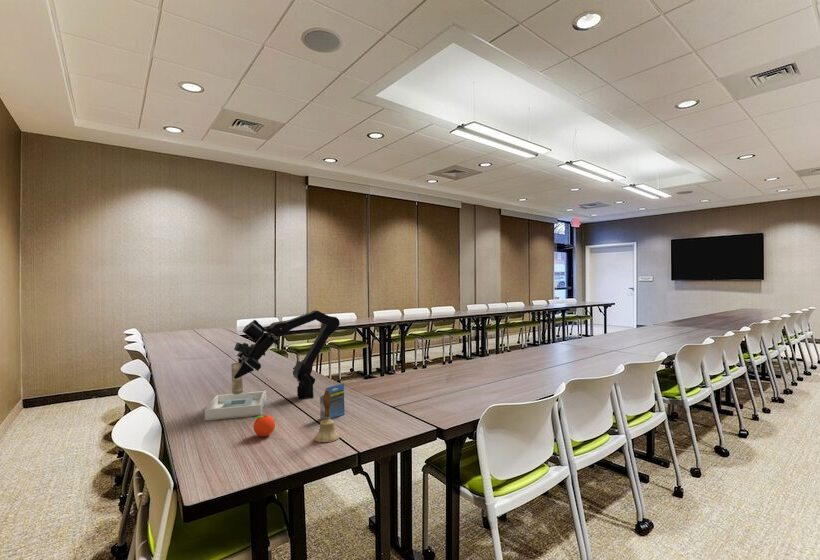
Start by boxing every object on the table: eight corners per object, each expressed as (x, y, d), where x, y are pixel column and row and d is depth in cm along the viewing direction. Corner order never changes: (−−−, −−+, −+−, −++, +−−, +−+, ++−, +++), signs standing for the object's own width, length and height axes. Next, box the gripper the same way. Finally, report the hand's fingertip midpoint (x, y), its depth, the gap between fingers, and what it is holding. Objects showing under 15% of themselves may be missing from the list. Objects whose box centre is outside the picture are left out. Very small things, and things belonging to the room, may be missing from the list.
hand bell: (329, 431, 137) (328, 385, 137) (345, 436, 132) (344, 389, 131) (309, 438, 130) (308, 390, 130) (325, 445, 125) (324, 395, 125)
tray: (266, 400, 173) (266, 391, 173) (261, 415, 154) (260, 405, 154) (216, 404, 168) (216, 395, 168) (204, 420, 149) (204, 410, 149)
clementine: (249, 441, 129) (248, 420, 129) (251, 433, 136) (250, 413, 136) (274, 438, 131) (274, 417, 131) (275, 430, 138) (275, 410, 138)
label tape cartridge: (338, 412, 156) (338, 381, 156) (345, 414, 153) (344, 382, 153) (320, 418, 149) (319, 386, 149) (326, 421, 146) (325, 388, 146)
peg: (244, 392, 162) (244, 363, 162) (236, 394, 158) (235, 365, 158) (238, 391, 164) (237, 362, 164) (230, 393, 160) (229, 364, 160)
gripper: (241, 332, 171) (214, 361, 164) (251, 337, 155) (222, 369, 149) (260, 348, 175) (234, 377, 169) (272, 354, 160) (244, 386, 154)
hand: (233, 377), depth 160 cm, fingers closed on peg, 4 cm apart
